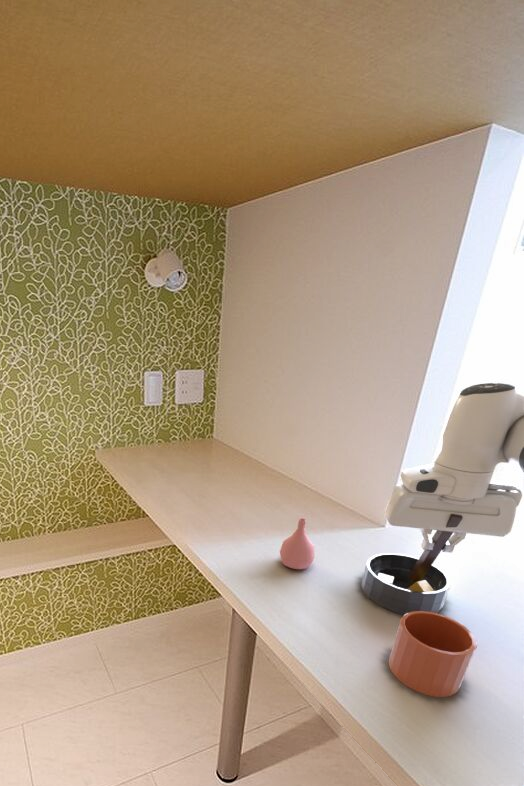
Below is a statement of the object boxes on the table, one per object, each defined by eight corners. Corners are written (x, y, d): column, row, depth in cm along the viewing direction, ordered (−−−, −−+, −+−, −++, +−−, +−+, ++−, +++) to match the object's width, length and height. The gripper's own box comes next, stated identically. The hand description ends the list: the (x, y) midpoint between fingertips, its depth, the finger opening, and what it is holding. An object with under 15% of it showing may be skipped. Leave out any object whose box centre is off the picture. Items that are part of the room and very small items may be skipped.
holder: (445, 658, 74) (461, 615, 70) (468, 706, 65) (488, 660, 61) (381, 649, 76) (393, 607, 72) (395, 693, 67) (410, 648, 63)
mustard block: (424, 600, 87) (435, 592, 85) (415, 602, 86) (426, 594, 84) (414, 587, 89) (425, 579, 87) (405, 589, 87) (416, 581, 85)
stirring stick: (416, 577, 89) (459, 511, 77) (419, 584, 88) (463, 518, 76) (407, 576, 89) (449, 509, 77) (409, 582, 88) (452, 516, 76)
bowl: (428, 581, 96) (435, 557, 93) (452, 624, 82) (462, 598, 80) (355, 572, 98) (360, 549, 96) (367, 613, 85) (374, 587, 82)
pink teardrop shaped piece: (304, 557, 104) (311, 511, 99) (318, 574, 97) (327, 526, 92) (273, 559, 103) (279, 513, 98) (285, 576, 96) (292, 528, 91)
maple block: (390, 588, 91) (394, 576, 90) (388, 595, 89) (392, 583, 88) (375, 584, 93) (378, 572, 91) (373, 591, 90) (376, 578, 89)
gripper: (516, 479, 76) (490, 548, 82) (392, 469, 80) (376, 536, 86) (535, 492, 71) (505, 565, 77) (401, 481, 75) (382, 551, 81)
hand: (436, 549), depth 81 cm, fingers closed on stirring stick, 2 cm apart
